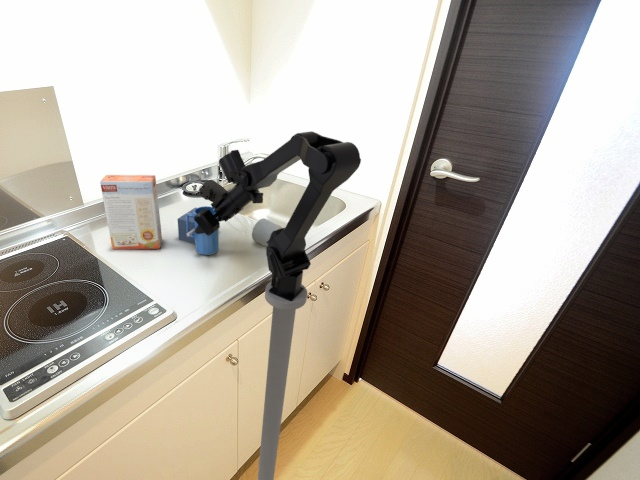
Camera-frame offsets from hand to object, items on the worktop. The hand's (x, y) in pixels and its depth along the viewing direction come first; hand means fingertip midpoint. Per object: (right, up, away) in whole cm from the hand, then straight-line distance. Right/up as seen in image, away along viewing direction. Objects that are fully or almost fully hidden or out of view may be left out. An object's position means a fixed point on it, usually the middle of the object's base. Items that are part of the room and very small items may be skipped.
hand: (202, 227), depth 104 cm
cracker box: (-20, -5, +6) cm, 21 cm away
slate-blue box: (-4, -3, +10) cm, 11 cm away
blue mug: (0, -6, +4) cm, 7 cm away
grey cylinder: (+20, -4, +9) cm, 22 cm away
